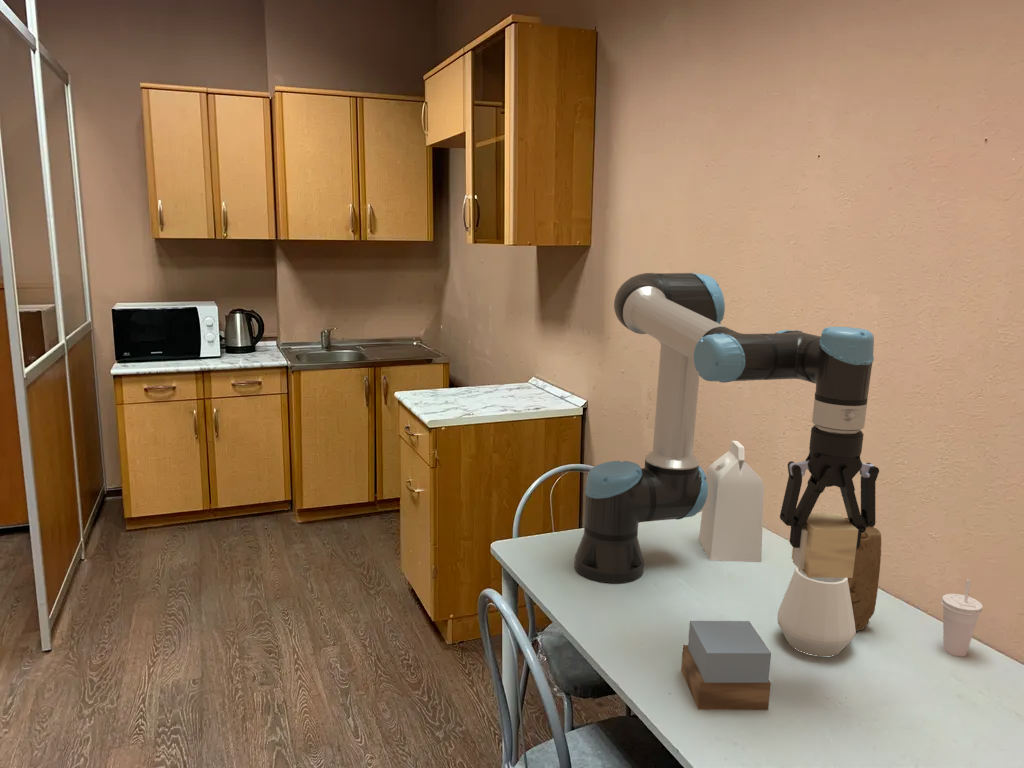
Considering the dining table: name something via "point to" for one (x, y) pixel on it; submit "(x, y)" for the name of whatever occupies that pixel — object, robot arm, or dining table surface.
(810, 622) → the white ceramic vase
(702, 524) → the milk
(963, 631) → the smoothie
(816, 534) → the oak block
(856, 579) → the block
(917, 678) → the dining table surface
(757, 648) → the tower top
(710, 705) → the tower base
